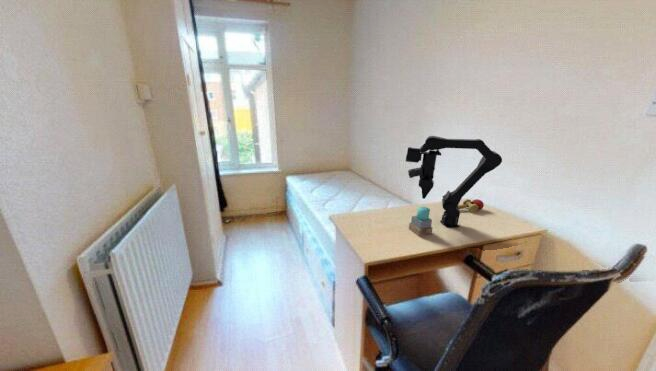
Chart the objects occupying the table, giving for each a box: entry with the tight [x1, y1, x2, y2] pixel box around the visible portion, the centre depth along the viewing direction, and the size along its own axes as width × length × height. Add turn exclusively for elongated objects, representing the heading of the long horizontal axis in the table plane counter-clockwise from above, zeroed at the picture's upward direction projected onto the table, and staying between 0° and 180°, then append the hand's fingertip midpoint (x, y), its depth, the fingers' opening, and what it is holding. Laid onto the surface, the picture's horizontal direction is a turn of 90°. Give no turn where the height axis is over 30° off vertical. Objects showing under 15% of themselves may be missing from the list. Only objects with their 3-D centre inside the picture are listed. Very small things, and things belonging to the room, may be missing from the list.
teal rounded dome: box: [416, 206, 431, 221], centre depth 112 cm, size 5×5×4 cm
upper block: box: [410, 214, 433, 229], centre depth 114 cm, size 6×6×4 cm
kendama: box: [458, 198, 485, 213], centre depth 138 cm, size 8×6×18 cm
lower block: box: [408, 222, 433, 237], centre depth 115 cm, size 7×7×4 cm
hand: (423, 195), depth 123 cm, fingers open, 9 cm apart
